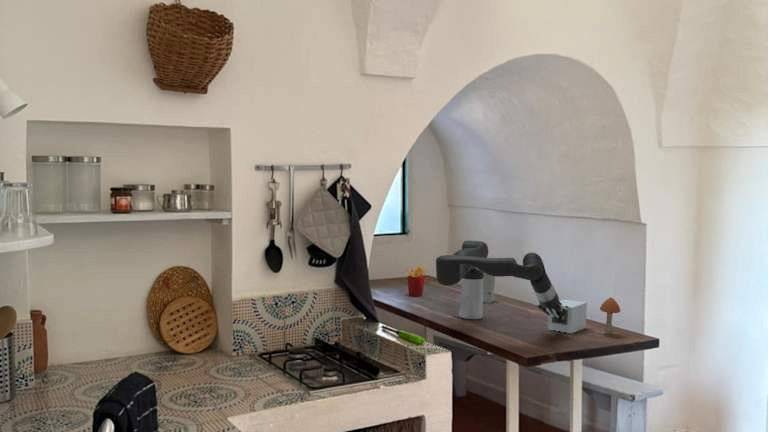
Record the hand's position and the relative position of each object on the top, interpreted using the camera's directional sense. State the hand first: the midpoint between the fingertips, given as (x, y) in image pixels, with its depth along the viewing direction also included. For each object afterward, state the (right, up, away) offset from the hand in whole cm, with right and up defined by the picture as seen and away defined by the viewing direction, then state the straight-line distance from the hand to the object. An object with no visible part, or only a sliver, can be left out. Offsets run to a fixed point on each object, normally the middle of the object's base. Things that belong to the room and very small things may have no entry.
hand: (559, 320), depth 304 cm
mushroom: (+19, -6, -2) cm, 20 cm away
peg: (+4, 0, +5) cm, 7 cm away
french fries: (-53, +2, +73) cm, 91 cm away
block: (+5, -4, +7) cm, 9 cm away
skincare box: (-22, 0, +62) cm, 66 cm away
